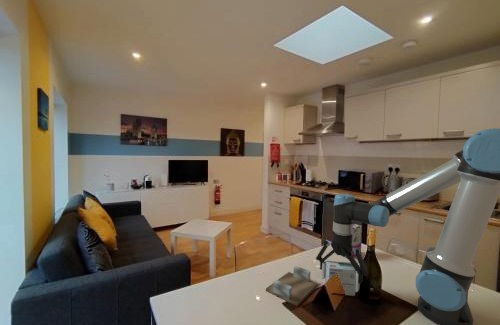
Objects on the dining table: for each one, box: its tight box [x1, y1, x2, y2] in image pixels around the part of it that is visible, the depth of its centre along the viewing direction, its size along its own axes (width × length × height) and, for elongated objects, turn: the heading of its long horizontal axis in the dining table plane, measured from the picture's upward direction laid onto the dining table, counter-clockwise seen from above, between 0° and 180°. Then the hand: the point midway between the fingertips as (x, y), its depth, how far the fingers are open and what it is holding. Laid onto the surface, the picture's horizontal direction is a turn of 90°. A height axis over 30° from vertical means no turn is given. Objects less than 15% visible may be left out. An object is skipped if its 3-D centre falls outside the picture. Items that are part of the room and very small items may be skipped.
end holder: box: [265, 265, 319, 307], centre depth 97 cm, size 14×18×5 cm
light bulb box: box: [324, 260, 357, 297], centre depth 96 cm, size 11×7×11 cm, turn 84°
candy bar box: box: [345, 223, 363, 259], centre depth 131 cm, size 11×5×16 cm, turn 119°
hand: (339, 283), depth 96 cm, fingers open, 13 cm apart
